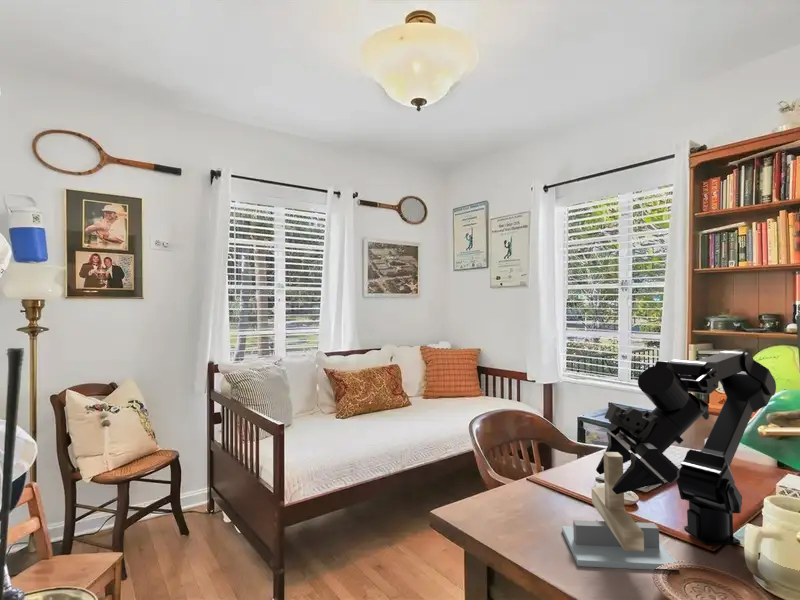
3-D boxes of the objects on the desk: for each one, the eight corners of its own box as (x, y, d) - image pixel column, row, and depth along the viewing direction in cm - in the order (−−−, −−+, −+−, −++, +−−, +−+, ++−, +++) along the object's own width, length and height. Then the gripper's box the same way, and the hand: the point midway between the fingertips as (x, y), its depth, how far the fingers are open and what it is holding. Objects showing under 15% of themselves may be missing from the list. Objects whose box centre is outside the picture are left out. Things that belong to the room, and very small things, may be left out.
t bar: (607, 502, 91) (605, 439, 91) (644, 551, 73) (641, 472, 73) (591, 502, 91) (590, 439, 91) (624, 550, 73) (621, 472, 74)
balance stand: (649, 534, 87) (648, 510, 87) (679, 570, 75) (678, 543, 75) (562, 531, 89) (561, 508, 89) (578, 566, 77) (577, 539, 77)
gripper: (616, 380, 91) (560, 435, 92) (656, 399, 73) (585, 467, 74) (659, 420, 90) (602, 475, 91) (711, 449, 72) (638, 518, 73)
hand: (605, 481), depth 82 cm, fingers open, 9 cm apart
